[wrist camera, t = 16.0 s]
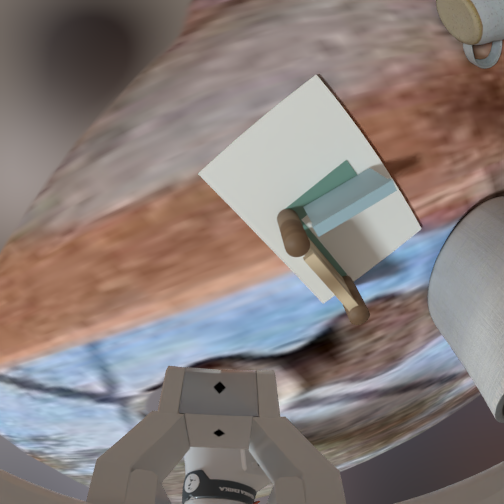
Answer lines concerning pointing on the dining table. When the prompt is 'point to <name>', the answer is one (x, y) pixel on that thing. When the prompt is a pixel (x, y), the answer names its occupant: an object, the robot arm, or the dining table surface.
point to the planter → (474, 298)
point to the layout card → (309, 183)
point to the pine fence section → (321, 266)
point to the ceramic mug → (475, 26)
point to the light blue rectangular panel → (348, 200)
